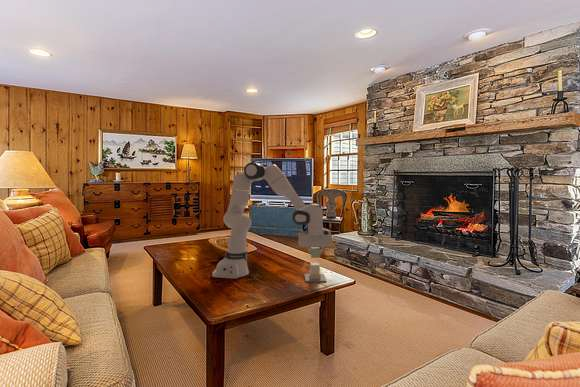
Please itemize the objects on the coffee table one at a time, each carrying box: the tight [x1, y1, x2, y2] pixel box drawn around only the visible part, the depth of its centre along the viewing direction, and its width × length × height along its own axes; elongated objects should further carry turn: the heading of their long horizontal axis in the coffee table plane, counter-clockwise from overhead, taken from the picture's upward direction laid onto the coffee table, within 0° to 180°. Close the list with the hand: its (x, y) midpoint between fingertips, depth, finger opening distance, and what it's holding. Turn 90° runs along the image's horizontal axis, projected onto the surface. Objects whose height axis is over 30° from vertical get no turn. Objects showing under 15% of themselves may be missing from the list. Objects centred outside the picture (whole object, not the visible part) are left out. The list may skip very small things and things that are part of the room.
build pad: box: [303, 270, 327, 283], centre depth 184 cm, size 12×12×4 cm
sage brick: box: [310, 247, 321, 259], centre depth 184 cm, size 5×5×5 cm
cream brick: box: [310, 262, 321, 274], centre depth 184 cm, size 5×5×5 cm
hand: (315, 253), depth 184 cm, fingers closed on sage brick, 5 cm apart
